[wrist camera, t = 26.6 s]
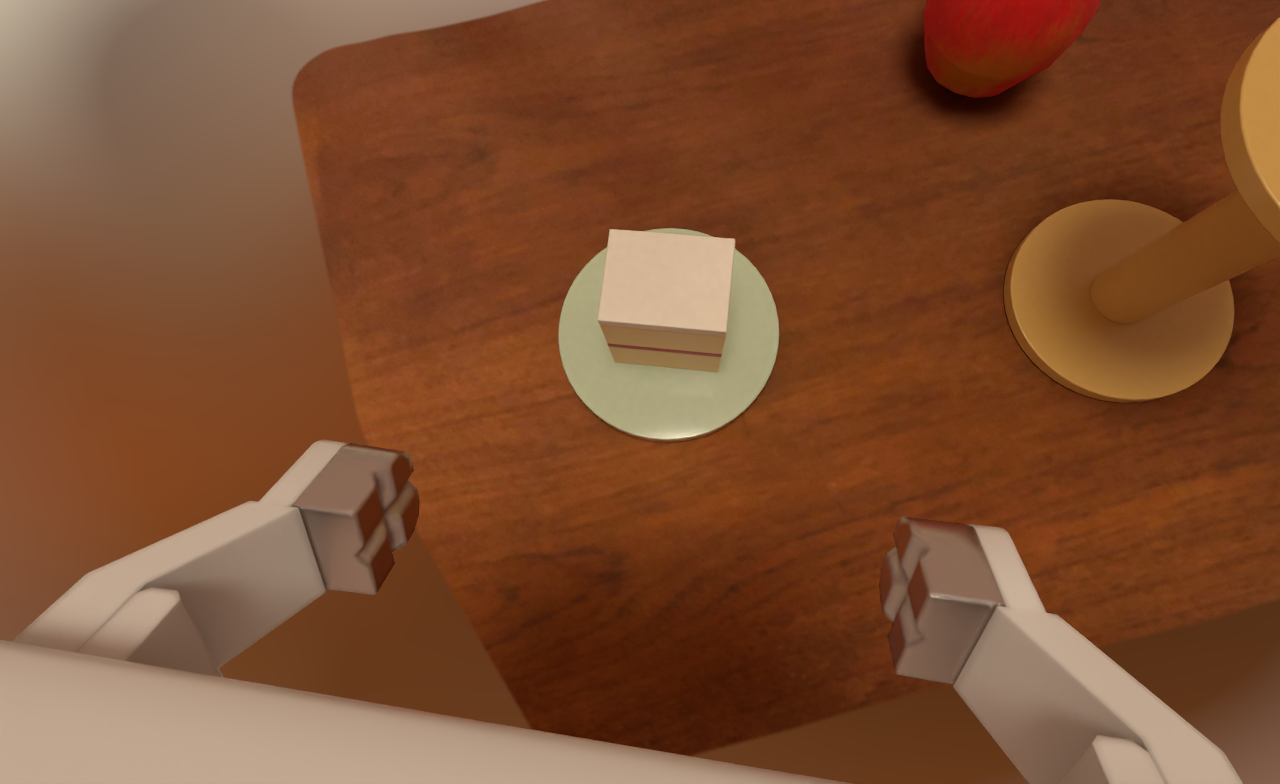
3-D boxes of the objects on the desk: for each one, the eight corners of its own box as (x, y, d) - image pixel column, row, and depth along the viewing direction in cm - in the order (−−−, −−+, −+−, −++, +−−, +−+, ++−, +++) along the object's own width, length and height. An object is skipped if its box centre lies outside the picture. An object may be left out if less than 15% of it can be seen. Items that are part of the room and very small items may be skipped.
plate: (742, 470, 40) (744, 468, 39) (532, 405, 42) (527, 402, 40) (801, 266, 42) (804, 258, 41) (600, 213, 44) (597, 204, 43)
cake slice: (718, 372, 40) (726, 332, 32) (614, 362, 41) (597, 320, 32) (725, 296, 41) (735, 238, 33) (624, 287, 42) (609, 228, 33)
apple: (1044, 124, 43) (1177, -27, 32) (907, 136, 44) (989, -8, 32) (1019, 6, 45) (1136, -176, 33) (888, 19, 46) (959, -157, 34)
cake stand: (1205, 429, 38) (1643, 346, 21) (983, 368, 40) (1217, 244, 23) (1235, 235, 41) (1651, 12, 23) (1024, 185, 42) (1264, -58, 25)
